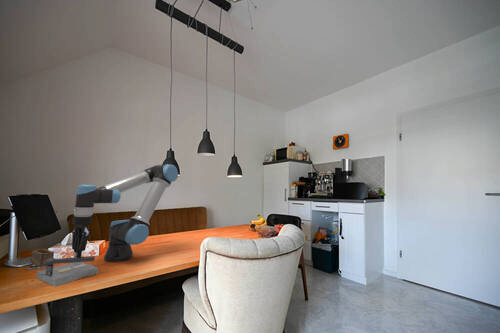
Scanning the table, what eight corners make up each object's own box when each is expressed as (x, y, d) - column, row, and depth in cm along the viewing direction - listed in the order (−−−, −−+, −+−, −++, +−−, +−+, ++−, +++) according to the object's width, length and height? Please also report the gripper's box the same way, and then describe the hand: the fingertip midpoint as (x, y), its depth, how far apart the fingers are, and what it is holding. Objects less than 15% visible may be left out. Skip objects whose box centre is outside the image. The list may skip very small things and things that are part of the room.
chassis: (78, 267, 116) (79, 253, 117) (97, 273, 108) (98, 258, 109) (35, 278, 101) (37, 262, 101) (54, 286, 93) (56, 269, 93)
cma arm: (43, 265, 97) (44, 260, 97) (47, 263, 100) (48, 258, 100) (92, 262, 102) (92, 257, 102) (94, 260, 105) (95, 255, 105)
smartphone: (25, 271, 110) (25, 268, 110) (36, 262, 123) (36, 260, 123) (46, 268, 114) (46, 266, 114) (54, 260, 127) (55, 258, 127)
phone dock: (42, 261, 123) (44, 248, 124) (52, 265, 118) (54, 251, 119) (30, 264, 119) (31, 250, 120) (39, 268, 113) (41, 254, 114)
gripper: (67, 215, 106) (60, 264, 103) (81, 217, 100) (73, 270, 97) (85, 214, 113) (78, 260, 110) (98, 216, 107) (91, 266, 104)
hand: (76, 265), depth 104 cm, fingers closed
